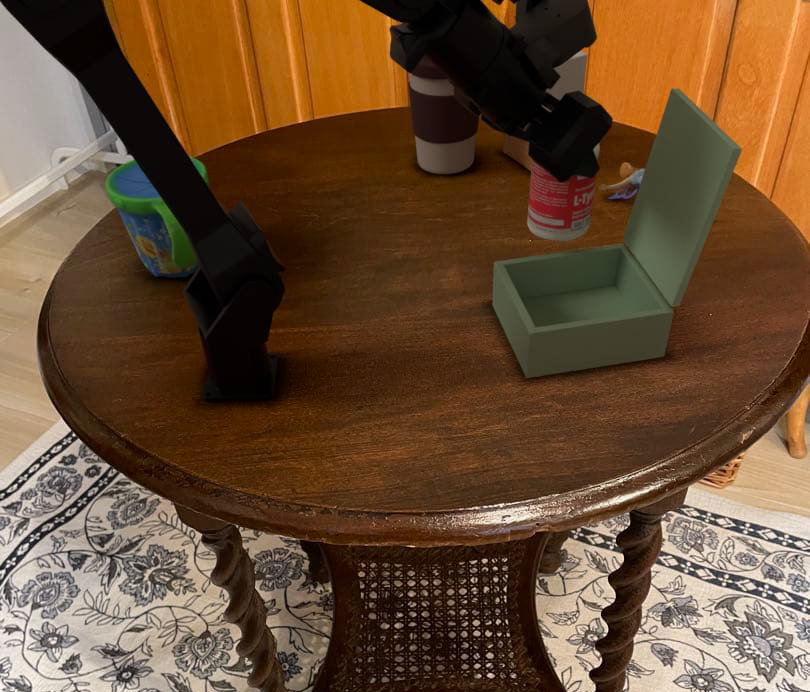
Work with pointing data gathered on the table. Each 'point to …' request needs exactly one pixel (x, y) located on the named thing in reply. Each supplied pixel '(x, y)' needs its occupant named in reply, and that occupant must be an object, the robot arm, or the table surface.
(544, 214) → the pill bottle
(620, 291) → the chest
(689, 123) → the chest lid
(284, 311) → the table surface
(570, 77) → the small box
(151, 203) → the snack cup
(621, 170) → the fairy figurine
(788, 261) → the table surface
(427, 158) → the coffee cup
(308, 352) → the table surface
